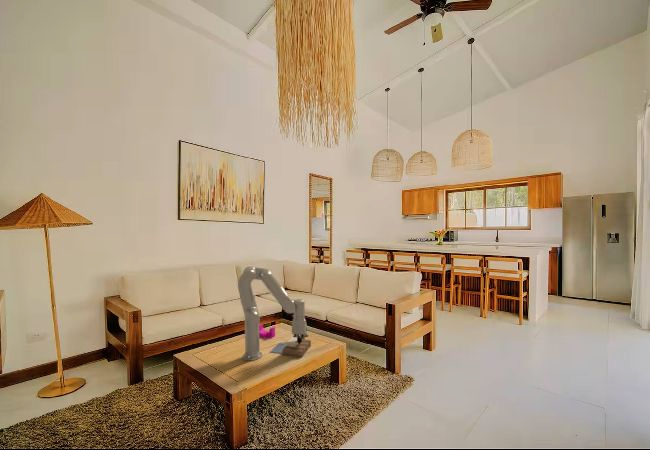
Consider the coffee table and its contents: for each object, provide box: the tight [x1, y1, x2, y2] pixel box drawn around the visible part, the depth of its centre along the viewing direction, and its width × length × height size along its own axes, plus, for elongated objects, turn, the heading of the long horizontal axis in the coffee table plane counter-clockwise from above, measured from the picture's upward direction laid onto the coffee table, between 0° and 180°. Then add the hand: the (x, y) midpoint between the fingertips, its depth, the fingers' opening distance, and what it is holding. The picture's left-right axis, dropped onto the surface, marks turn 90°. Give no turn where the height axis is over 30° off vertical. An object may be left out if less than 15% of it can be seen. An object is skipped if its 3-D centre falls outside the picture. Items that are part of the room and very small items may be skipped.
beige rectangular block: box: [286, 336, 298, 347], centre depth 216 cm, size 9×6×3 cm, turn 164°
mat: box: [269, 342, 287, 355], centre depth 218 cm, size 16×10×1 cm, turn 165°
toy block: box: [259, 324, 276, 339], centre depth 242 cm, size 15×6×8 cm, turn 62°
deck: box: [282, 338, 312, 358], centre depth 215 cm, size 20×14×4 cm
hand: (299, 342), depth 215 cm, fingers closed
